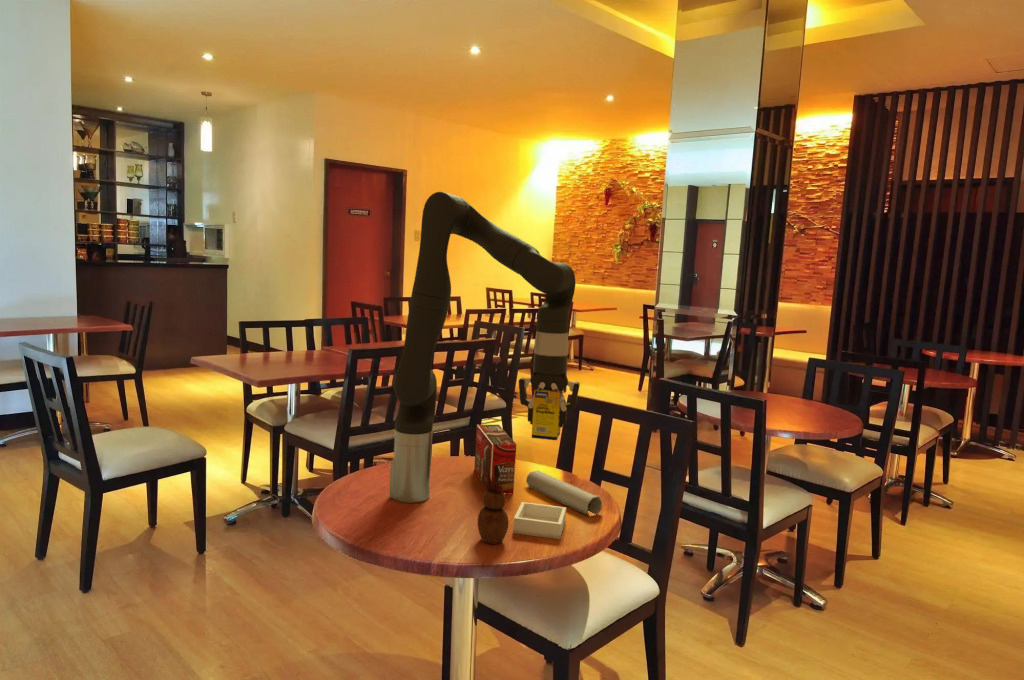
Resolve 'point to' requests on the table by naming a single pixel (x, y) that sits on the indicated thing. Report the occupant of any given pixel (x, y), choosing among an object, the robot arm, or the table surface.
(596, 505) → the tube
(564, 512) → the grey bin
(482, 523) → the wooden figurine
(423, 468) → the robot arm
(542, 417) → the supplement box
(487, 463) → the ice cream box
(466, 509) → the table surface
